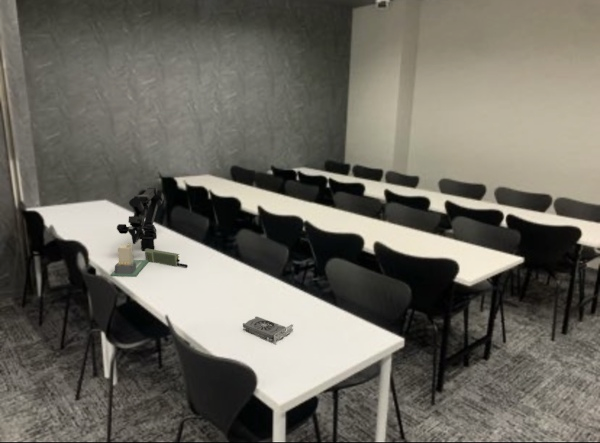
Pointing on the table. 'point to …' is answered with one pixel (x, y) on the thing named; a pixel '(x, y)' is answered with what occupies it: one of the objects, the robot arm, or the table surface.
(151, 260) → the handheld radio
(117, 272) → the board
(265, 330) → the graphics card
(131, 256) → the plug
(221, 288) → the table surface
